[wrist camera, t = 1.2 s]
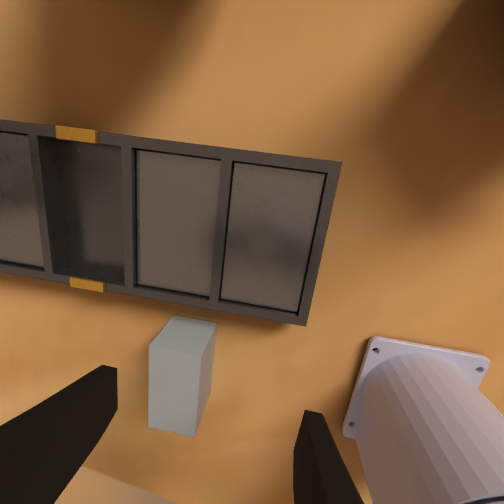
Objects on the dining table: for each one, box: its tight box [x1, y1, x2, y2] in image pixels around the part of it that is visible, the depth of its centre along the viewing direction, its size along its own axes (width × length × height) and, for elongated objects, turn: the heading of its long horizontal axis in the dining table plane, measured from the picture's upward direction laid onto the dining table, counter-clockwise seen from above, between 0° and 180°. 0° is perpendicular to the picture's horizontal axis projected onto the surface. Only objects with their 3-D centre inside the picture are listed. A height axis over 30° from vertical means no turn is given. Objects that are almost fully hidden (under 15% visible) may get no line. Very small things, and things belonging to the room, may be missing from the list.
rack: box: [0, 119, 342, 326], centre depth 16 cm, size 10×24×2 cm, turn 82°
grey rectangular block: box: [148, 315, 217, 437], centre depth 19 cm, size 7×4×4 cm, turn 172°
